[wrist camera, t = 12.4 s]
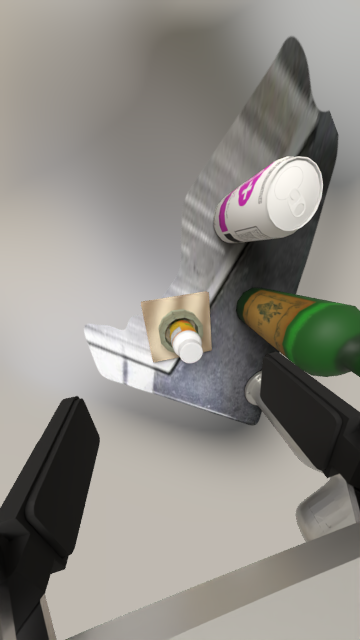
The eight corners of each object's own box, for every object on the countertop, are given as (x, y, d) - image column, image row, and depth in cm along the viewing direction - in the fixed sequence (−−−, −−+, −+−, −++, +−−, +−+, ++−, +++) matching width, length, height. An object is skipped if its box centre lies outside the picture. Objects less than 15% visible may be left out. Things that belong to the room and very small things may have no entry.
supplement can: (203, 216, 32) (248, 187, 18) (238, 183, 31) (313, 127, 17) (226, 252, 35) (280, 251, 21) (259, 223, 34) (336, 203, 20)
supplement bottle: (197, 327, 38) (213, 350, 29) (181, 345, 39) (191, 372, 30) (179, 313, 36) (191, 332, 27) (163, 331, 37) (168, 356, 28)
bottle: (228, 289, 38) (405, 362, 12) (272, 276, 39) (521, 321, 13) (233, 331, 42) (372, 452, 16) (272, 319, 43) (462, 415, 17)
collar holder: (206, 291, 37) (213, 295, 33) (209, 347, 42) (215, 356, 39) (141, 301, 35) (140, 307, 32) (152, 358, 40) (153, 369, 37)
